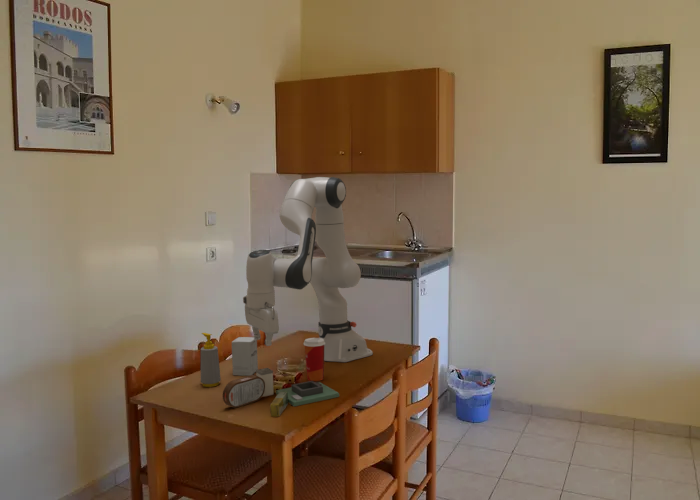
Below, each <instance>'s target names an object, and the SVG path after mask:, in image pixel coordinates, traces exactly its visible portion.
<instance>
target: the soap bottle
mask: <svg viewBox="0 0 700 500" xmlns="http://www.w3.org/2000/svg"><path fill="white" fill-rule="evenodd" d="M201 335H203V336H204V337H205V338H206V340H207V341H205V344H204V345H203V346H202V347H201V348H200V383H201V384H202V386H203V387H204V388H212V387H213V388H214V387H217V386H219V384H220V382H221V381H222V380H221V379H222V377H221V370H220V360H219V359H220V358H219V349H218V346H216V345H215V344H214V343H213V341H212V340H211V336H213V334H211V333H206V332H201Z"/></svg>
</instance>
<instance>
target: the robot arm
mask: <svg viewBox="0 0 700 500" xmlns="http://www.w3.org/2000/svg"><path fill="white" fill-rule="evenodd" d="M346 197H347V187H346V184H345V182H344V181H343V180H342V179H341V178H338V177H335V176H332V177H326V176H325V177H324V176H316V177H311V178H310V177H309V178H308V177H307V178H299V179H296V180H294V181H293V182H291V184H290V187H289V189H288V190H287V192H286V193H285V197H284V199H283V201H282V203H281V207H280V209H279V210H280V211H279V219H280V223H281V224H282V225H283V226H284V227H285V228H286V229H287V230H288V231H290V232H291V233H294V234H295V235H298V236H299V242H298V247H297V248H298V249H297V254H296V256H295V257H293V258H284V257H283V258H282V257H277V256H274V255H273V254H272V251H270V250H268V249H257V250H253V251H251V252H249V254H248V255H247V259H246V268H245V270H246V276H245V277H246V282H247V290H246V294H247V295H245V296H243V297H242V301H243V304H244V316H245V317H244V318H245V321H246V324H247V325H250V326H251V330H252V332H253V333H252V334H253V337H254V339H255V340H257V341H259V340H261V338H262V337H261V333H260V331H261V332H263V333H264V335H265V339H264V345H265V346H266V347H270V346H272V345H273V344H272V340H273V337H274V335H275V334H278V333H279V330H280V326H279V325H280V323H279V322H280V321H279V315H278V312H277V309H275V308H274V306H276V297H275V288H276V287H278V288H289V289H294V290H303V289H304V288H306V287H307V286H308V284H310V285H311V286H312V288H313V291H314V293H315V296H316V299H317V303H318V317H319V321H318V328H317V329H318V336H319V337H318V338H322V339H324V342H325V344H324V362H338V363H347V362H352V361H354V360H359V359H362V358H366V357H370V356H372V355H373V353H374V352H373V350H371V349H370V348H368V346H367V341H366V340H365V338H364V337H363V336H362V335H361V334H359V333H358V332H356V331H354V330H353V328H356V327H357V322H356V321H350V320H348V303H347V302H348V301H347V300H346V298H345V297H344V296H343V295H342V294H341V292H340V290H339V289H348V288H353V287H355V286H357V285H358V284H359V282H360V280H361V275H362V273H361V269H360V266H359V264H358V263H356V262H355V261H354V259H353V258H352V256H351V254H350V252H349V249H348V247H347V243H346V236H345V235H346V234H345V217H344V211H343V205H342V204H343V203H344V201H345V199H346ZM314 211H315V217H314V219H315V220H314V219H312V217H313V213H314ZM315 243H316V245H317V246H318V247H319V248H320V249H321V250H322V251H323V253H324V256H325V257H316V258H313V257H314V251H315ZM274 287H275V288H274Z"/></svg>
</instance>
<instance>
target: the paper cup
mask: <svg viewBox="0 0 700 500" xmlns="http://www.w3.org/2000/svg"><path fill="white" fill-rule="evenodd" d="M324 344H325V342H324V339H322V338H319V337H309V338H305V340H304V342H303V346H304V353H305V354H304V356H305V367H306V369H305V370H306V376H307V377H306V378H307V381H314V382H321V381H323V380H324V376H325V375H324V372H325V361H324Z"/></svg>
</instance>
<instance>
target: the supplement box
mask: <svg viewBox="0 0 700 500" xmlns="http://www.w3.org/2000/svg"><path fill="white" fill-rule="evenodd" d="M231 359H232V360H231V361H232V375H233V376H242V377H246V376H250V375H255V373H256V370H258V369H259V364H258V340H255V339H254V336H243V337H242V336H238V337H237V338H235V339H234V340H232V341H231Z"/></svg>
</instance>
